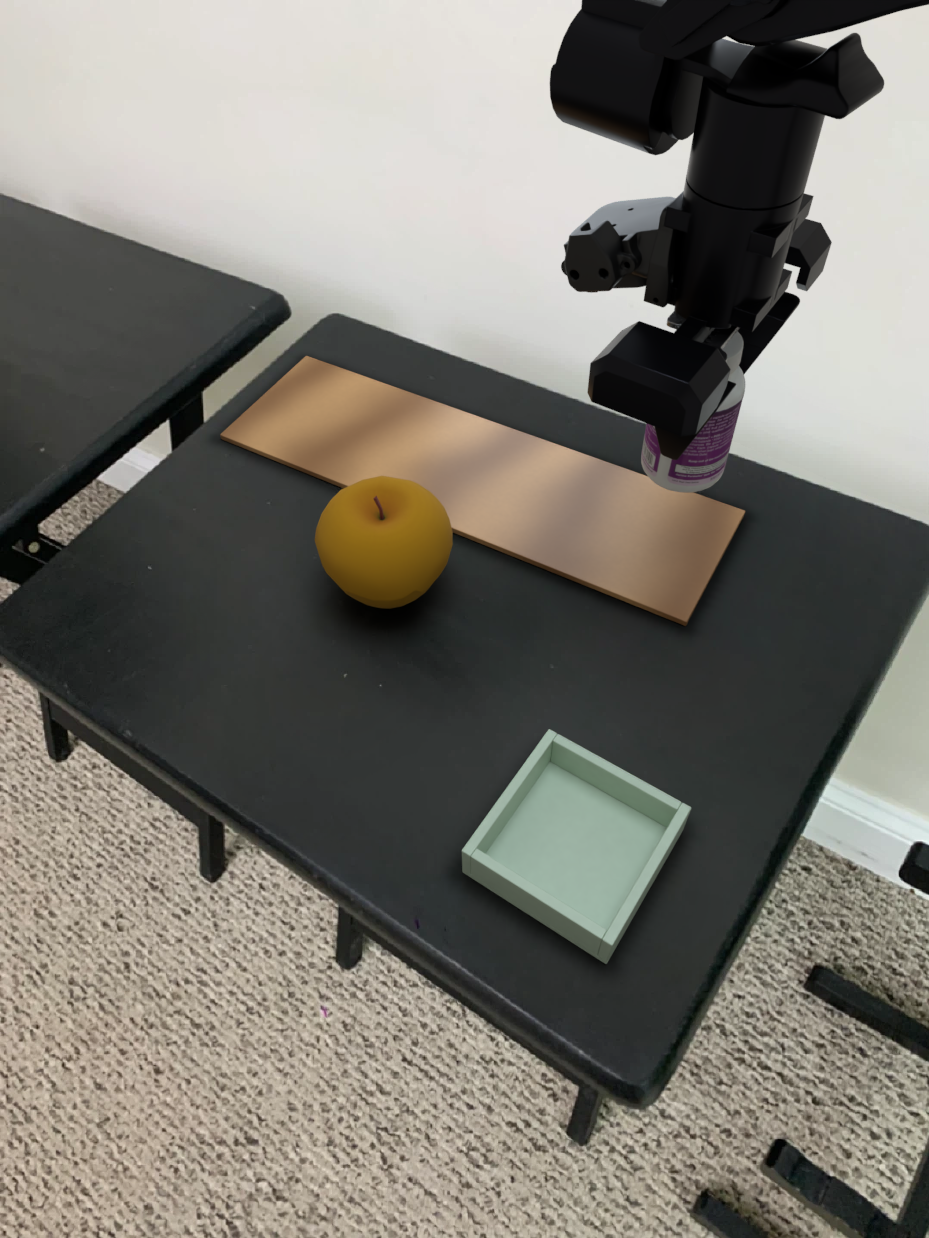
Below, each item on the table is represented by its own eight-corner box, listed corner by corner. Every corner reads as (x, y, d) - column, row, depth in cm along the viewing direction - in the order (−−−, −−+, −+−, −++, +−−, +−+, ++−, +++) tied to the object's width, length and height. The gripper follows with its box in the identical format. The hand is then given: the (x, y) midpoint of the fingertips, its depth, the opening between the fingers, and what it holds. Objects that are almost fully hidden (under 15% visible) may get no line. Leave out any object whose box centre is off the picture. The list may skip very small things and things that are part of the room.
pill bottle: (736, 457, 60) (772, 329, 53) (703, 507, 57) (736, 379, 50) (660, 429, 62) (684, 301, 55) (624, 476, 59) (645, 348, 52)
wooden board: (744, 515, 69) (745, 510, 69) (685, 626, 63) (686, 622, 62) (306, 360, 82) (306, 355, 81) (220, 439, 75) (219, 434, 75)
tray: (683, 830, 53) (692, 807, 51) (606, 964, 49) (612, 945, 46) (546, 753, 57) (548, 728, 54) (462, 872, 52) (460, 850, 50)
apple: (433, 530, 68) (428, 436, 61) (472, 619, 63) (471, 528, 56) (314, 559, 67) (295, 466, 60) (344, 654, 62) (326, 564, 54)
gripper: (678, 77, 53) (642, 317, 65) (503, 219, 43) (499, 469, 56) (871, 123, 49) (794, 369, 61) (724, 290, 39) (668, 542, 52)
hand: (690, 430), depth 57 cm, fingers closed on pill bottle, 5 cm apart
